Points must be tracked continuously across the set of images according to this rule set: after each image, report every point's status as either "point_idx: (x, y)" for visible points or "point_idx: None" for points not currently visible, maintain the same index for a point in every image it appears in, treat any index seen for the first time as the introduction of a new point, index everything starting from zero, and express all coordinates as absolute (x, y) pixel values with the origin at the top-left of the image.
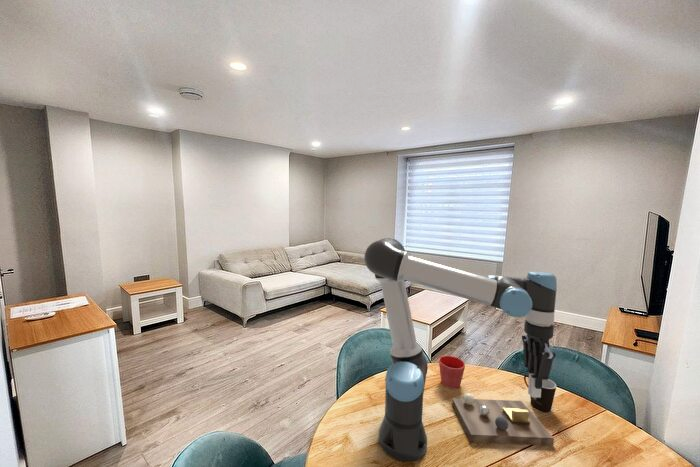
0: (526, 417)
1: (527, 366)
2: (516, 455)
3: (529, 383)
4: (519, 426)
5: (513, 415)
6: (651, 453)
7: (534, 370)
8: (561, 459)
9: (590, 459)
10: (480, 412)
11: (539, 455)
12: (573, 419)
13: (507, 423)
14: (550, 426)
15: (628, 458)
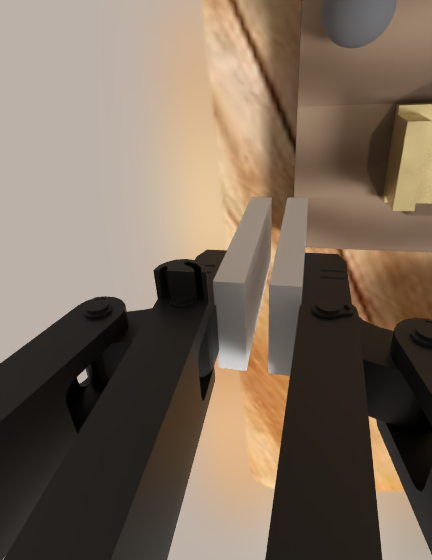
0: (388, 189)
1: (390, 344)
2: (235, 41)
3: (288, 233)
4: (365, 133)
5: (405, 118)
6: (271, 456)
7: (179, 344)
8: (232, 219)
9: None
10: None
11: (243, 149)
12: None
13: (335, 36)
14: (392, 288)
15: (251, 399)
